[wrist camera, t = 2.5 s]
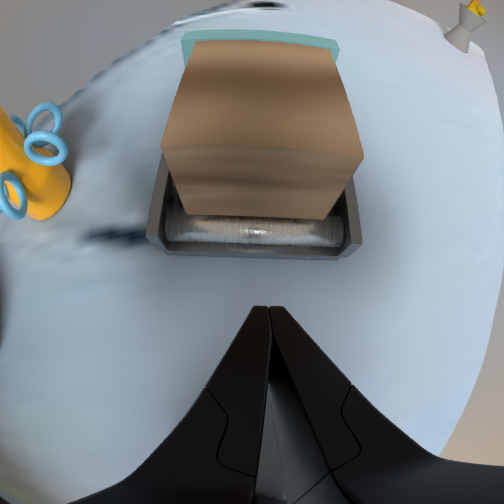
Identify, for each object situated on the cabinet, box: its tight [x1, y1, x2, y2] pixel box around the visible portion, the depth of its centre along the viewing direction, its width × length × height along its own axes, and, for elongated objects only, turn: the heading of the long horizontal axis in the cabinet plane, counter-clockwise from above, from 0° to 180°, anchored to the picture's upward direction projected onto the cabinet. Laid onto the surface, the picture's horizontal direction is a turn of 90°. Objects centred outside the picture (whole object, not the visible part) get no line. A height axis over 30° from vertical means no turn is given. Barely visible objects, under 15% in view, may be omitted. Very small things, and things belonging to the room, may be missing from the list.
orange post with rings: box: [0, 102, 71, 220], centre depth 14 cm, size 12×10×15 cm
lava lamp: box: [444, 0, 486, 53], centre depth 26 cm, size 9×9×35 cm
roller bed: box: [146, 153, 362, 260], centre depth 21 cm, size 17×14×4 cm
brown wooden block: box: [161, 40, 364, 220], centre depth 16 cm, size 10×9×7 cm
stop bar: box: [181, 30, 340, 68], centre depth 22 cm, size 2×14×8 cm, turn 89°
